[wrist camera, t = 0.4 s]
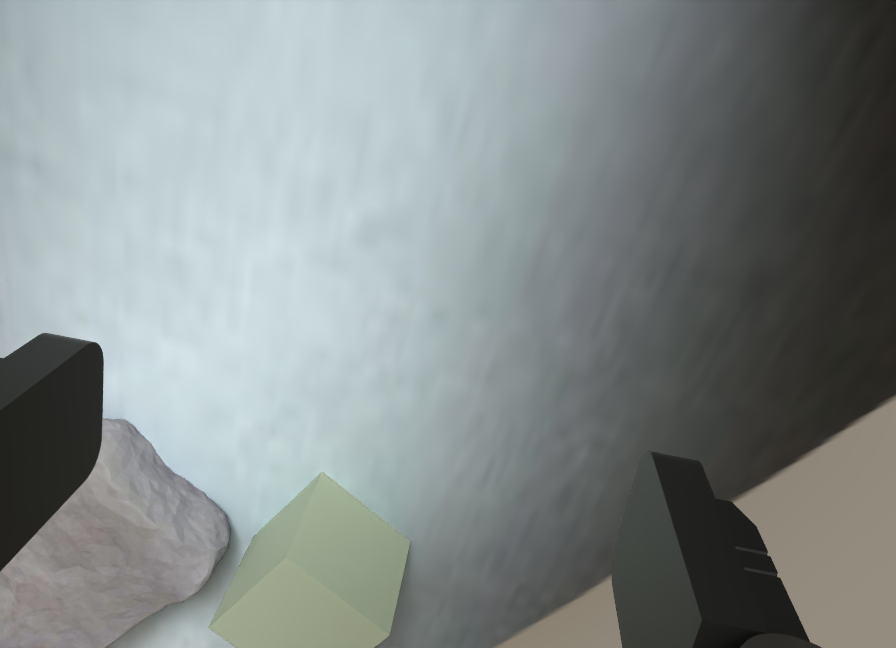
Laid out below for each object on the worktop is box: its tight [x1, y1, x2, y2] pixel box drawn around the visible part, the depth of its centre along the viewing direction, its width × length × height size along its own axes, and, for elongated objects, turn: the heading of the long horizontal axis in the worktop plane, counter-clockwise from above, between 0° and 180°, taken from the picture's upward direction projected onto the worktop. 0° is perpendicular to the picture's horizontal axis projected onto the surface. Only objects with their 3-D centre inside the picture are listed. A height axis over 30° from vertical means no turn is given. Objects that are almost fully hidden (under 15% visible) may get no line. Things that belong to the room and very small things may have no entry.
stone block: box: [0, 419, 230, 648], centre depth 36 cm, size 12×5×10 cm
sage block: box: [209, 472, 411, 648], centre depth 33 cm, size 5×5×6 cm
